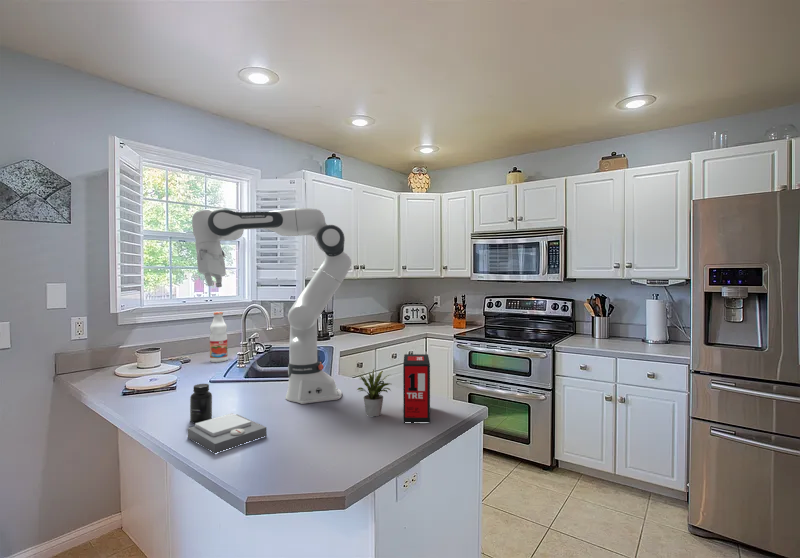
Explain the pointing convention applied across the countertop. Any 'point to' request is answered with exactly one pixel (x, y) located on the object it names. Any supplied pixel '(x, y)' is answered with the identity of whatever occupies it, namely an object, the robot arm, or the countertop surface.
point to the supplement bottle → (200, 404)
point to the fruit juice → (218, 339)
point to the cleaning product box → (416, 388)
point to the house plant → (373, 394)
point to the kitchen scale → (225, 432)
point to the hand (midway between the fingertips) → (215, 286)
